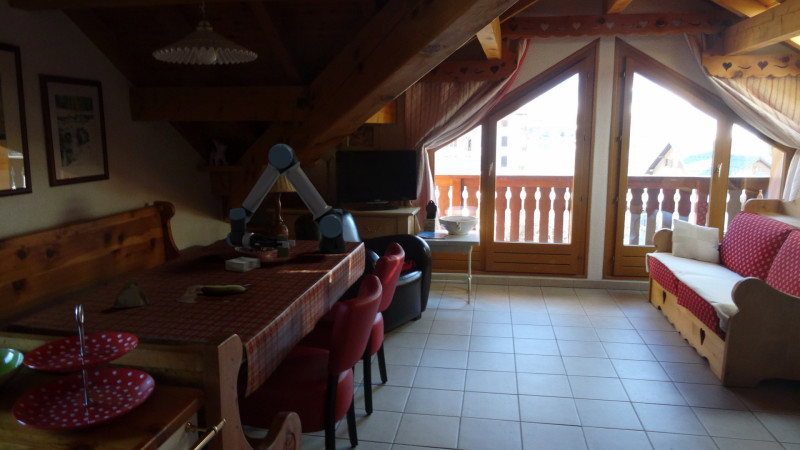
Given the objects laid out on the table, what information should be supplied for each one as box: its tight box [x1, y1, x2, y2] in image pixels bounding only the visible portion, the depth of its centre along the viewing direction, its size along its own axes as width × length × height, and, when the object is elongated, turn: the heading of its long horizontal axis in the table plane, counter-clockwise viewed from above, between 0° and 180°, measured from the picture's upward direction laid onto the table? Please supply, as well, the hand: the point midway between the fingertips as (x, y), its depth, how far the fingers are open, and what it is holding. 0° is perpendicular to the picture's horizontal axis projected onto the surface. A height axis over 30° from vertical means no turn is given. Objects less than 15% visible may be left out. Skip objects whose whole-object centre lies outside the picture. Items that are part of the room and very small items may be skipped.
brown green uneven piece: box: [174, 283, 251, 304], centre depth 212 cm, size 35×27×4 cm
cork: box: [276, 233, 290, 259], centre depth 261 cm, size 6×6×11 cm
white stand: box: [225, 256, 261, 273], centre depth 254 cm, size 11×11×4 cm
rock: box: [112, 280, 150, 309], centre depth 196 cm, size 11×9×10 cm
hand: (291, 244), depth 259 cm, fingers closed on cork, 4 cm apart
